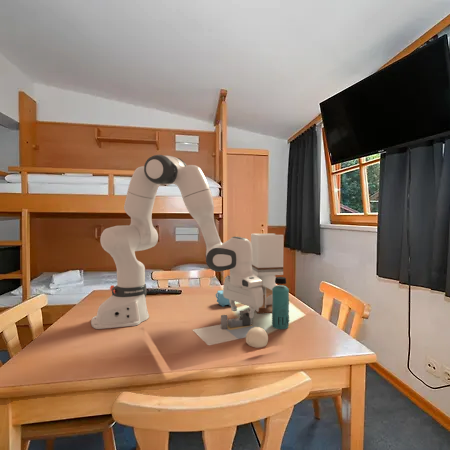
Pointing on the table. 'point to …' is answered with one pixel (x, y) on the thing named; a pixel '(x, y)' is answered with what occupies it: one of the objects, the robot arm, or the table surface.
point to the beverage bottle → (280, 304)
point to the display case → (267, 264)
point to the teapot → (222, 299)
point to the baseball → (257, 337)
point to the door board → (222, 332)
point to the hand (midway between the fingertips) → (242, 313)
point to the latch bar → (240, 320)
